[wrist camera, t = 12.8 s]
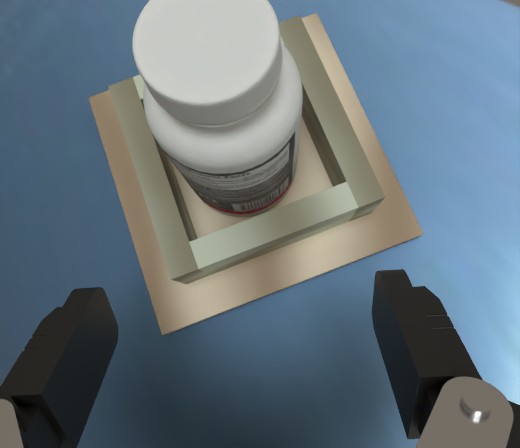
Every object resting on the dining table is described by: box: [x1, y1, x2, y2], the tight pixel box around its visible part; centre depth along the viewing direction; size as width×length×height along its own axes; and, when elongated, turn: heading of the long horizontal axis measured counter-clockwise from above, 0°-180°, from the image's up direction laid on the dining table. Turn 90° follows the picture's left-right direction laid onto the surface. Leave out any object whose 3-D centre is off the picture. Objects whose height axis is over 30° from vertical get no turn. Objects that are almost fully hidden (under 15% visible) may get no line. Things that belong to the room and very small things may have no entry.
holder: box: [89, 13, 423, 335], centre depth 19 cm, size 13×13×4 cm
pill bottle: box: [132, 0, 303, 217], centre depth 15 cm, size 5×5×10 cm
